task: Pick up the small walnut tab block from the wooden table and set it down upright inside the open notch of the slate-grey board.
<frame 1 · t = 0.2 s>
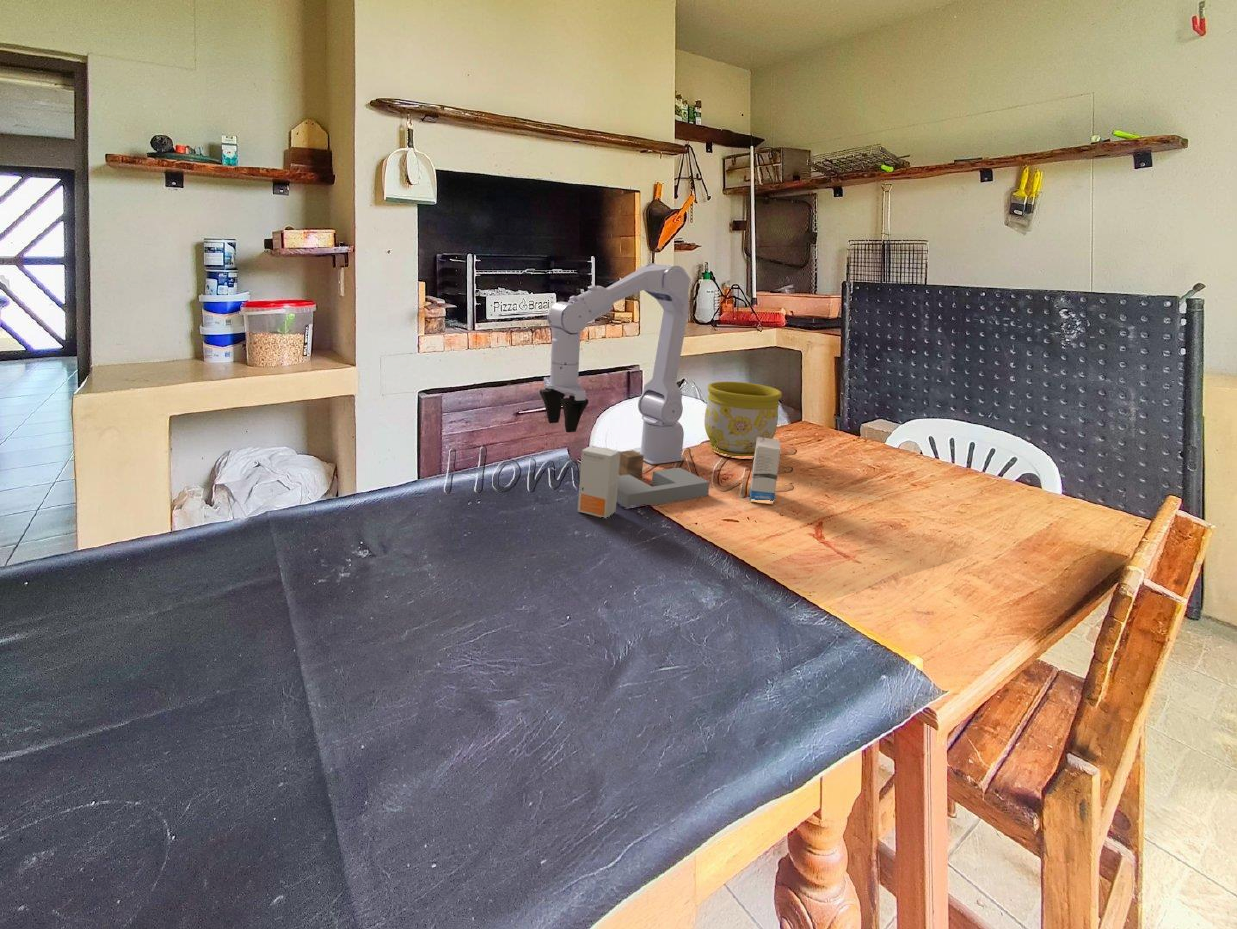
hand: (562, 427, 144), 10 cm above the table, tool pointing down, fingers open, 7 cm apart
flowerpot: (736, 453, 172), on the table
ink box: (760, 498, 141), on the table
notched board: (654, 494, 138), on the table
skincare box: (596, 513, 126), on the table
tab block: (628, 475, 149), on the table
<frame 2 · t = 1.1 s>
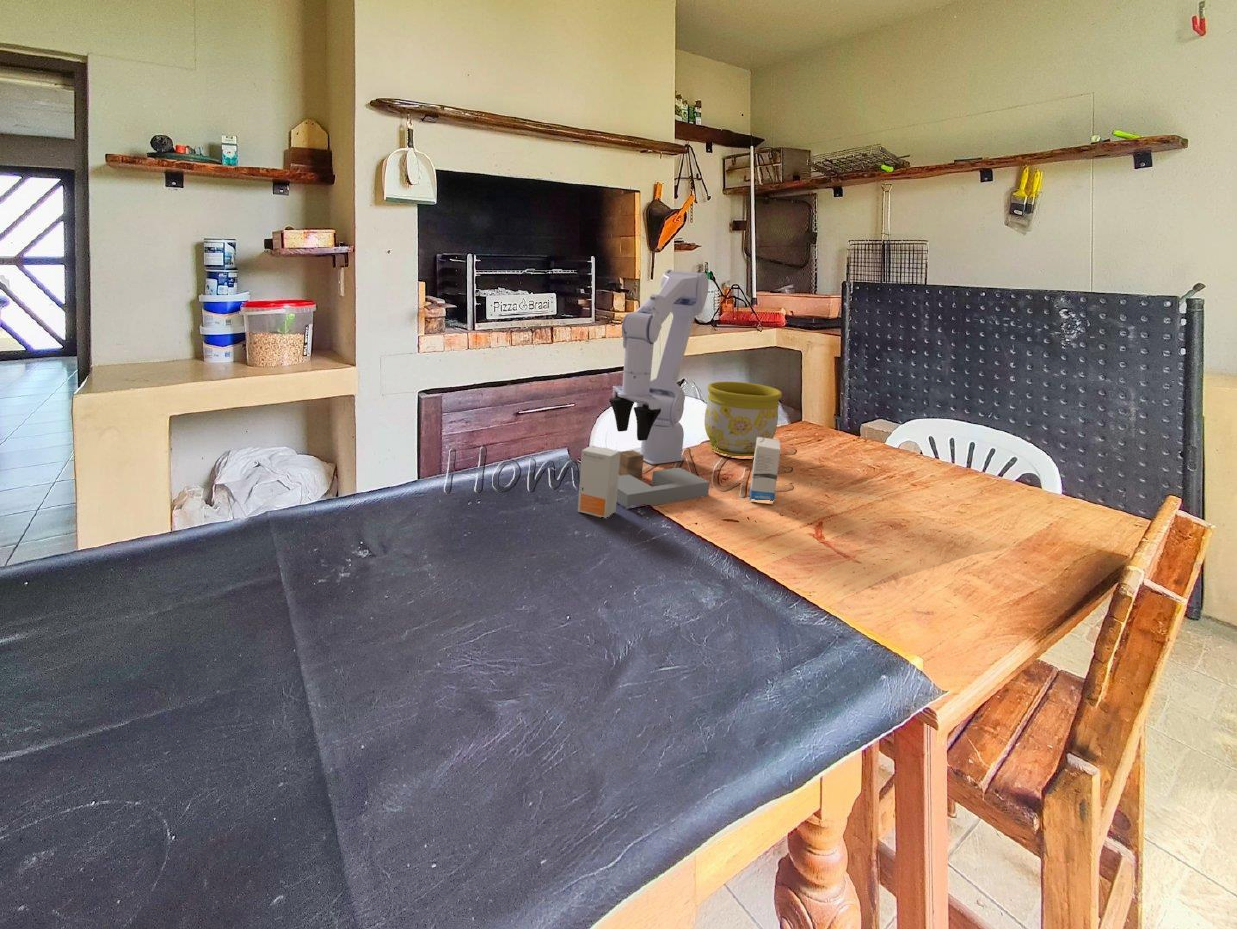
hand: (632, 435, 146), 9 cm above the table, tool pointing down, fingers open, 7 cm apart
nothing on the table moved.
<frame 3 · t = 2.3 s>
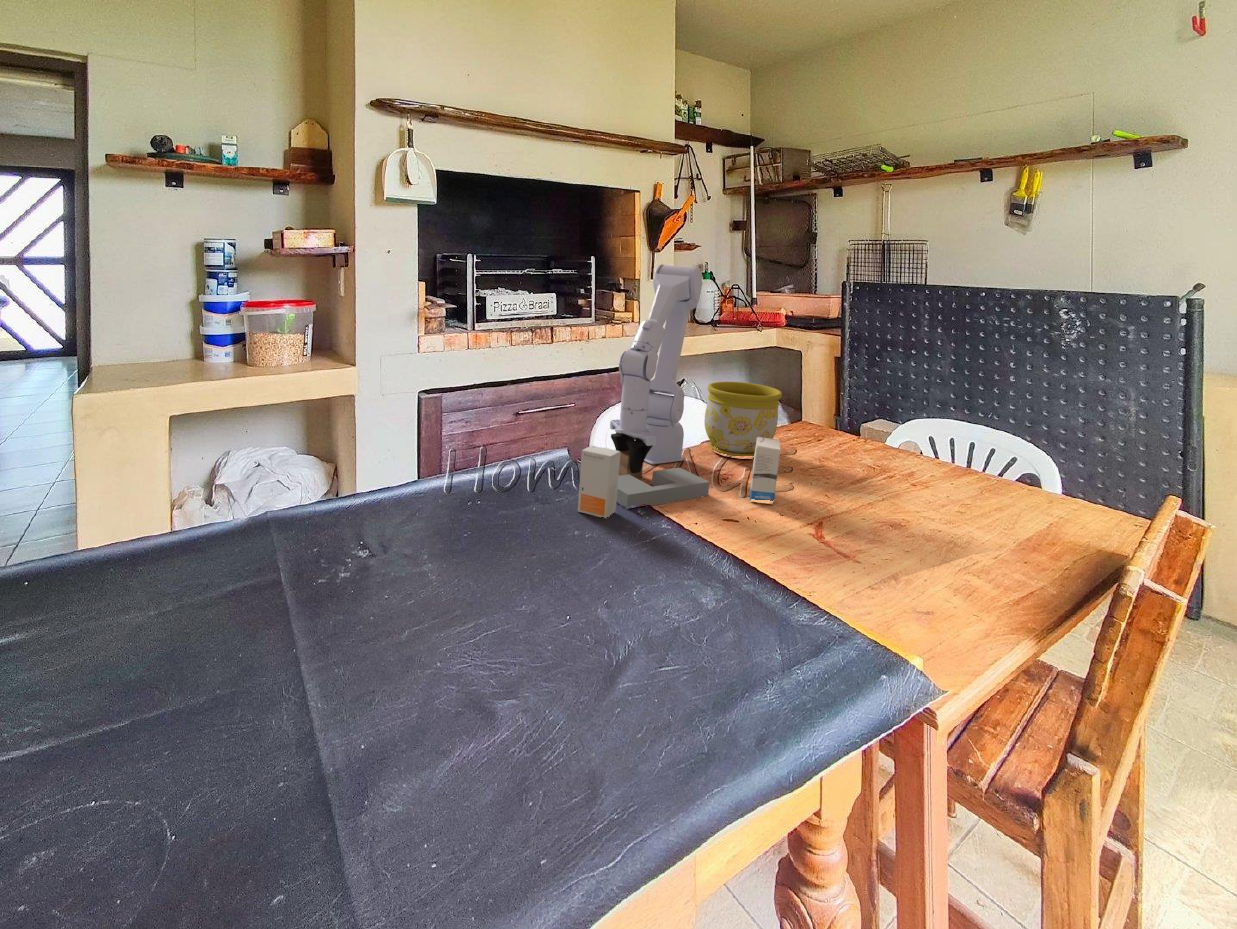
hand: (629, 469, 148), 1 cm above the table, tool pointing down, fingers closed on tab block, 4 cm apart
tab block: (628, 475, 149), on the table, touching gripper
everything else where it was.
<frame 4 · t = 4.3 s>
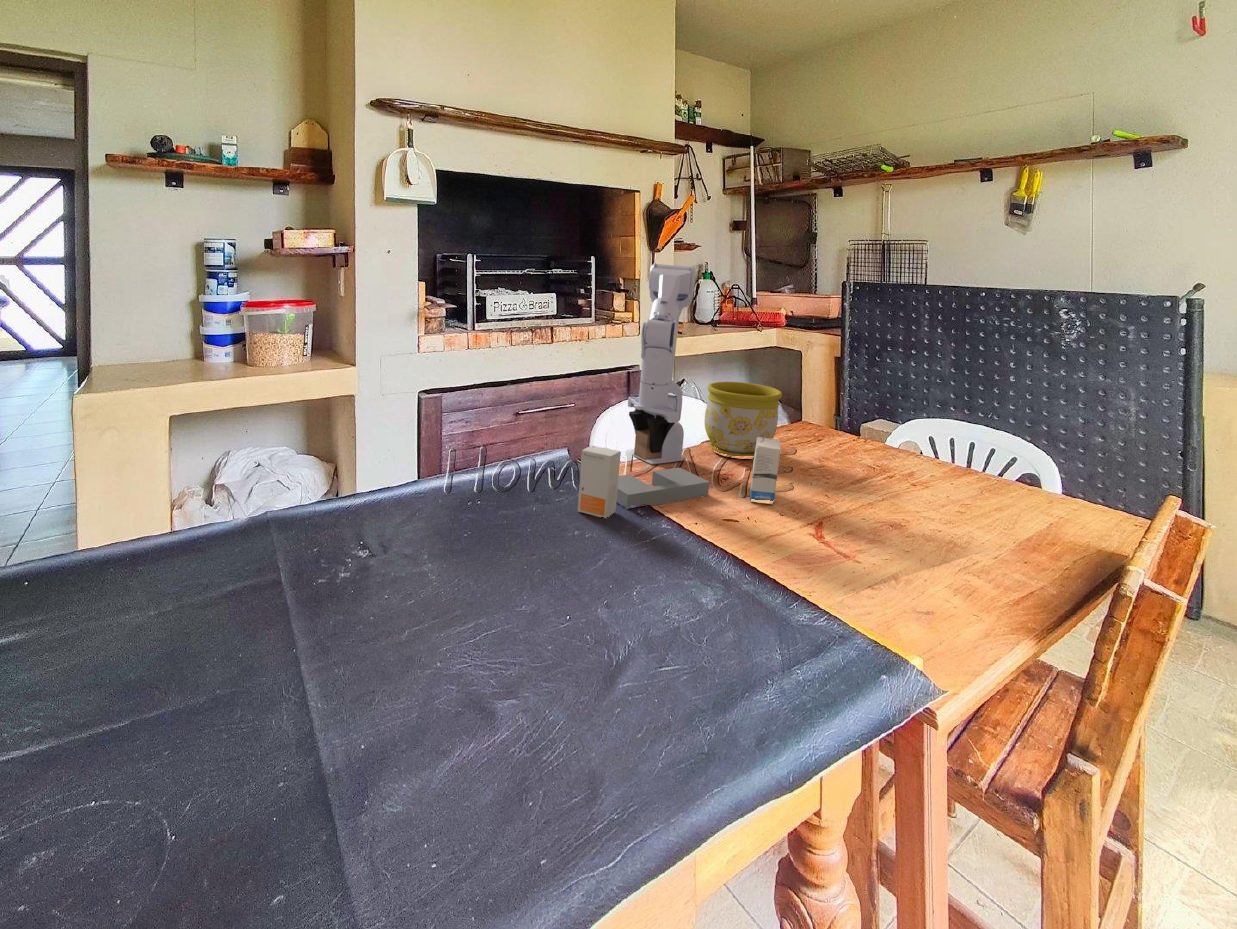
hand: (648, 449, 138), 8 cm above the table, tool pointing down, fingers closed on tab block, 4 cm apart
tab block: (647, 456, 139), point 7 cm above the table, touching gripper
everything else where it was.
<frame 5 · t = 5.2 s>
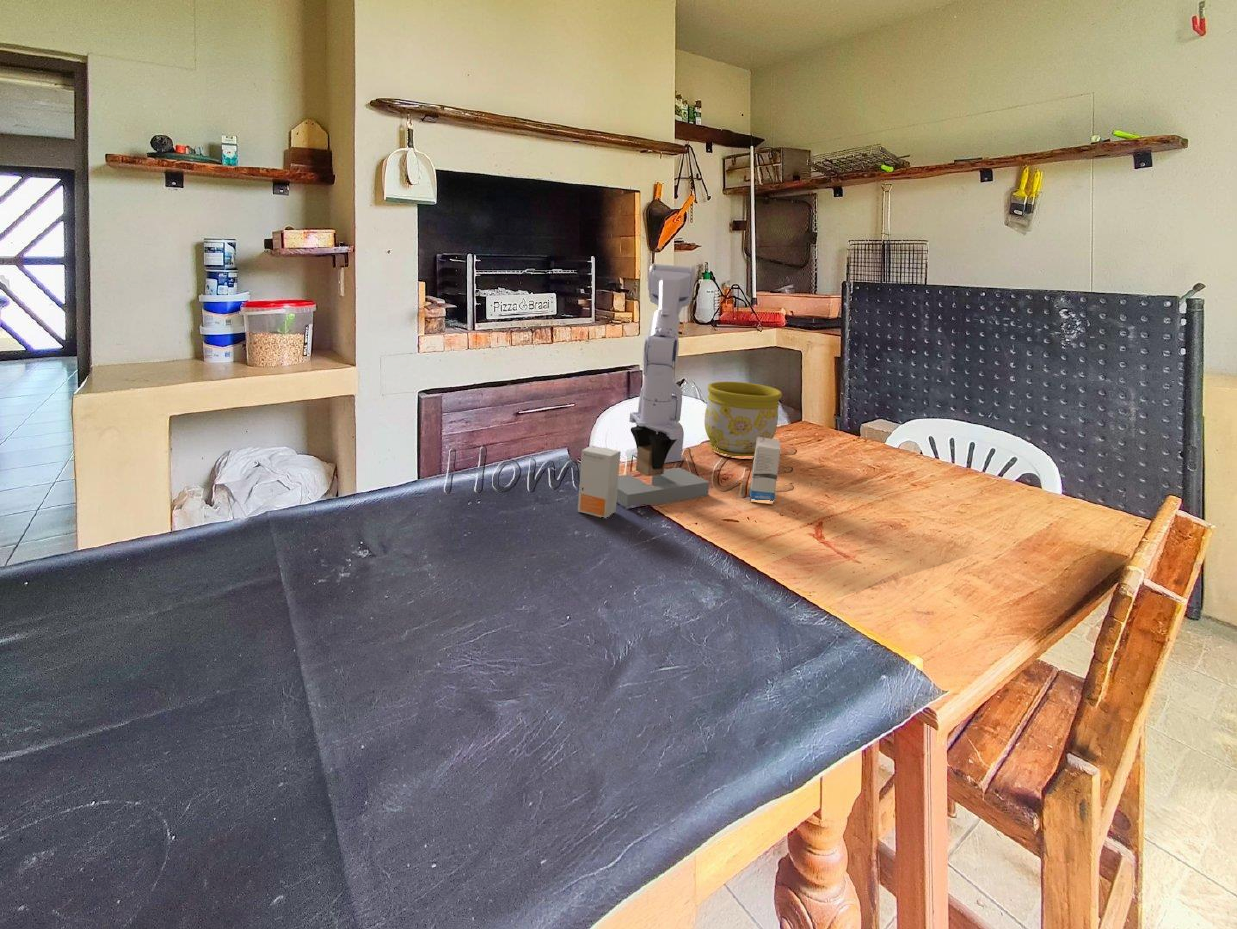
hand: (650, 465, 138), 6 cm above the table, tool pointing down, fingers closed on tab block, 4 cm apart
tab block: (649, 472, 138), point 4 cm above the table, touching gripper
everything else where it was.
when the fingers open (3 cm above the table, at t = 6.2 s): tab block drops 1 cm, on the table.
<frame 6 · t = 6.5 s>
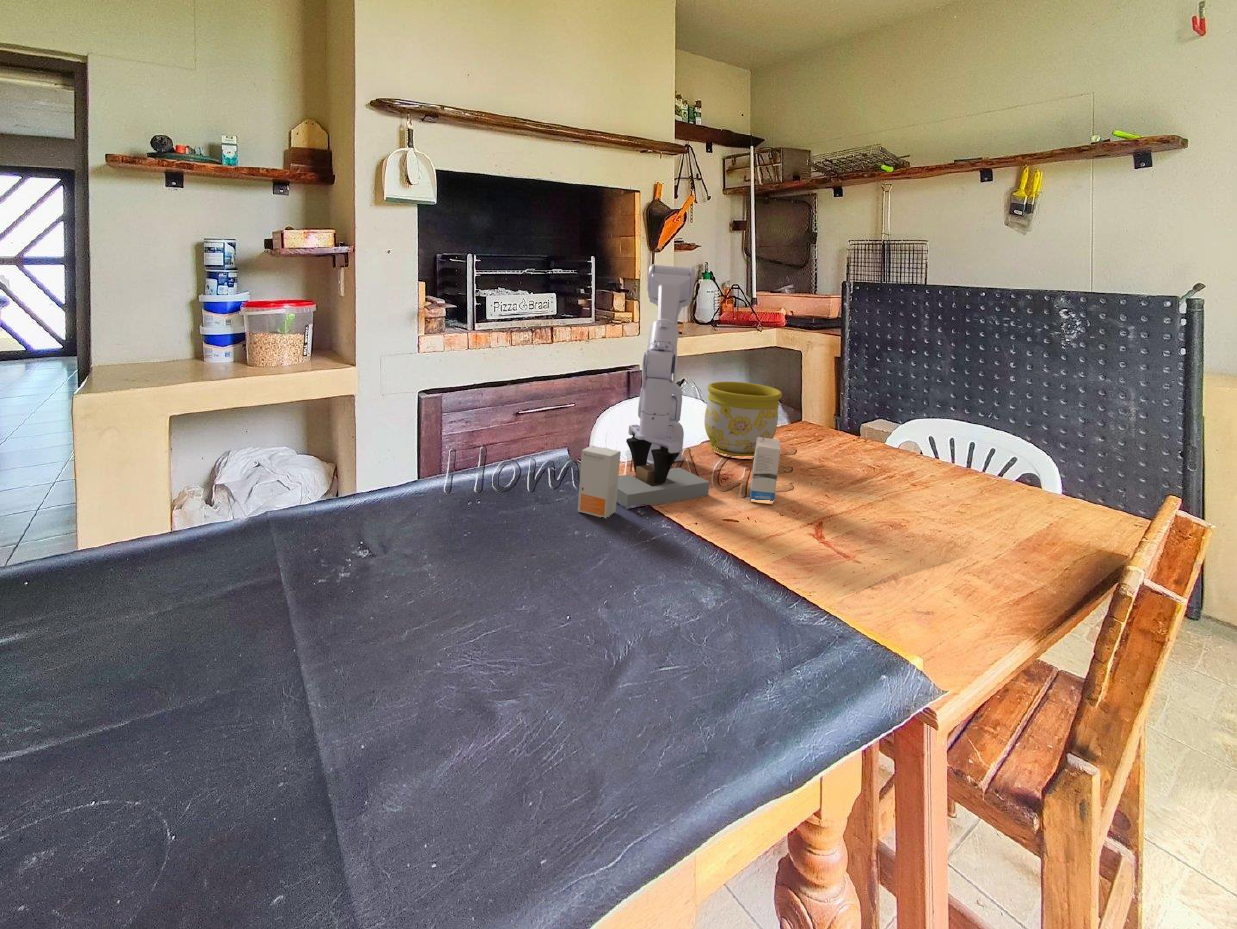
hand: (649, 477, 139), 3 cm above the table, tool pointing down, fingers open, 6 cm apart
tab block: (647, 491, 140), on the table
everything else where it was.
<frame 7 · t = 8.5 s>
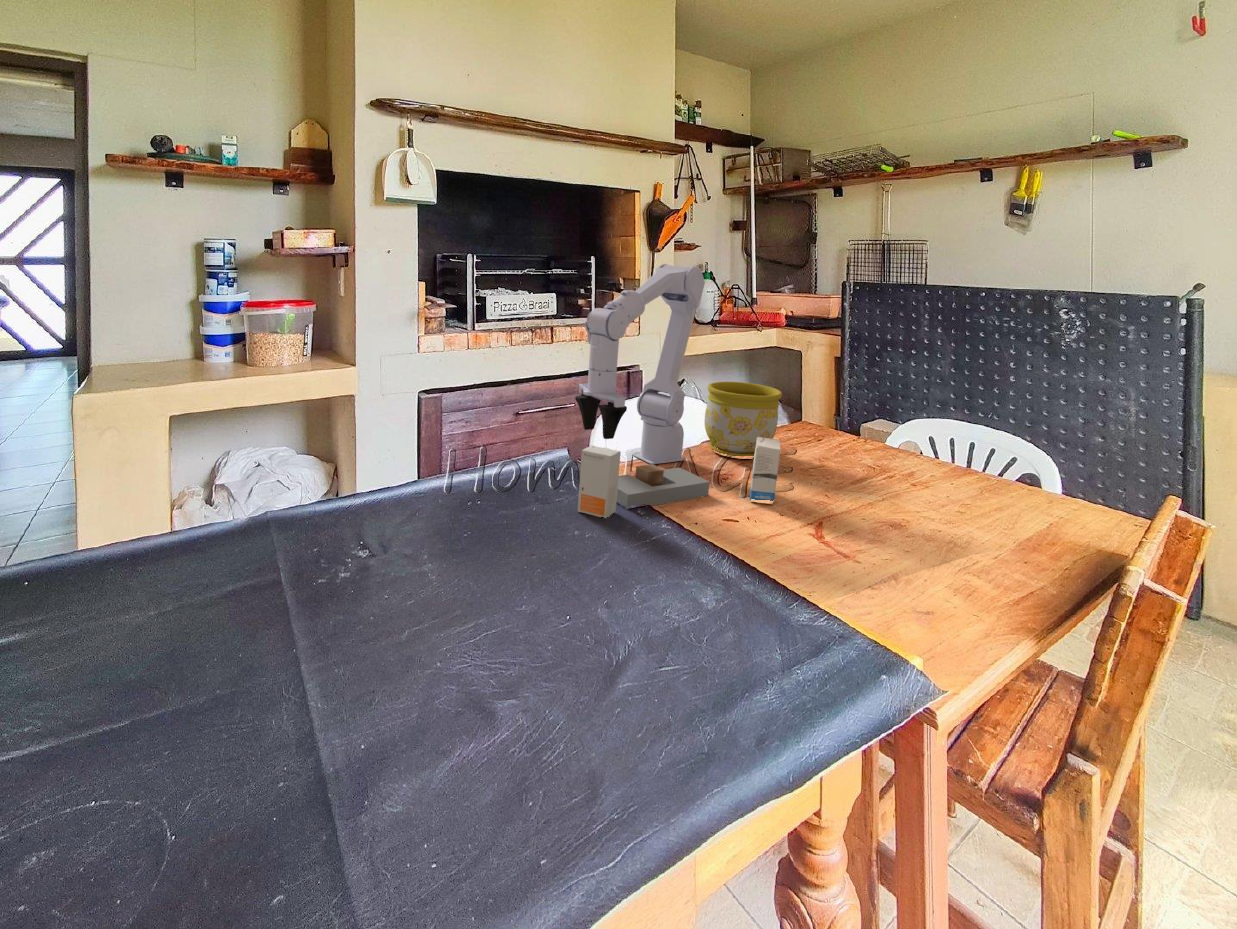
hand: (598, 433, 143), 9 cm above the table, tool pointing down, fingers open, 7 cm apart
nothing on the table moved.
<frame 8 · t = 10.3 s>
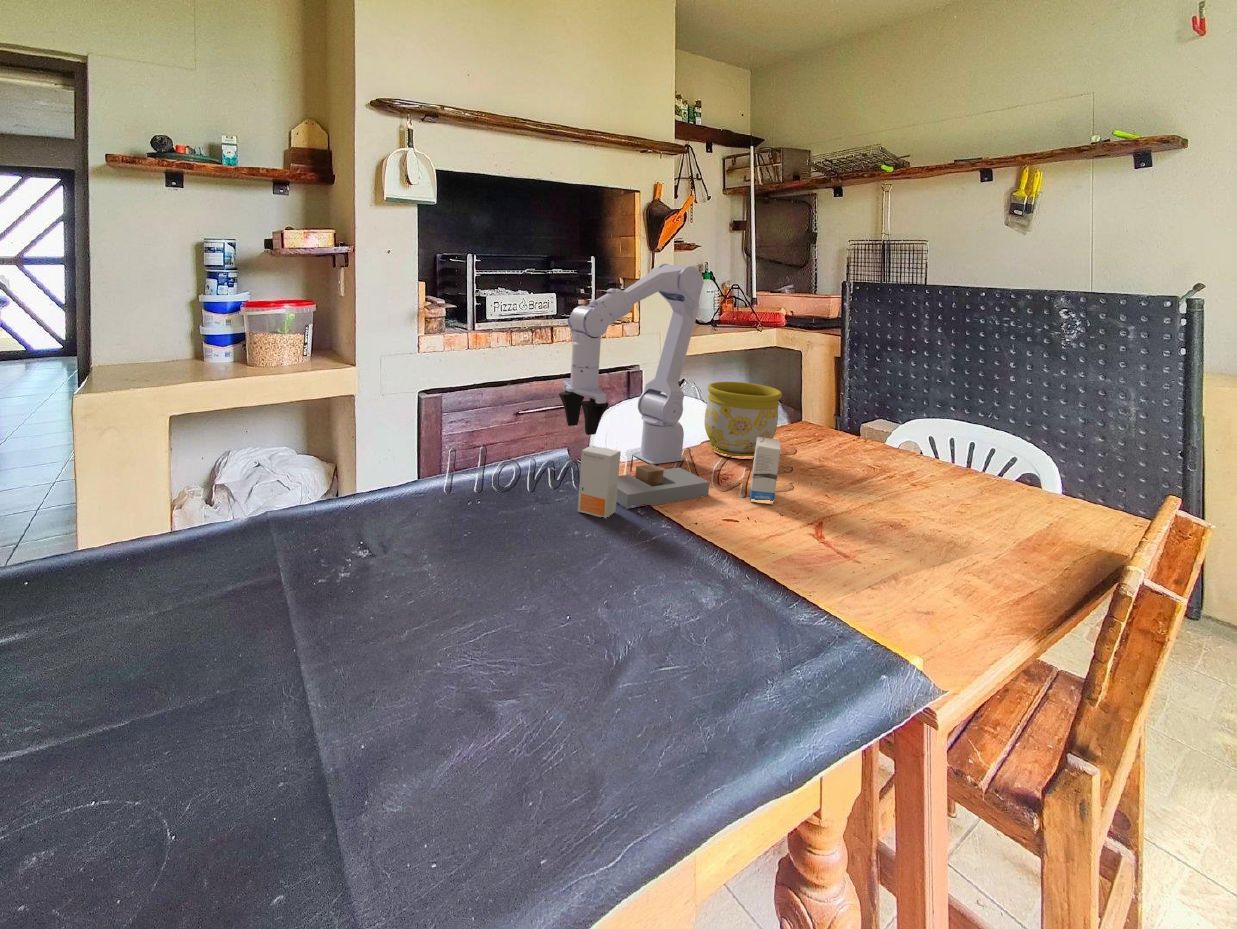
hand: (581, 429, 146), 9 cm above the table, tool pointing down, fingers open, 7 cm apart
nothing on the table moved.
at the end: tab block 0.3 cm from the target spot on the notched board, point 0.0 cm above the notched board's base; tab block tilted 0°; the gripper is holding nothing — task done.
